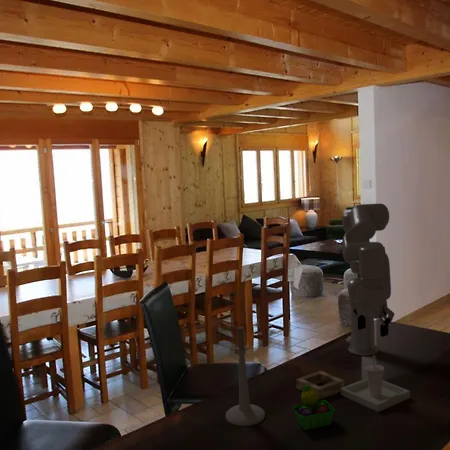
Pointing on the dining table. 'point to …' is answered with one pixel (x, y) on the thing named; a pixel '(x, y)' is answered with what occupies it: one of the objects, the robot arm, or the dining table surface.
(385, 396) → the tray
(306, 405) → the fruit basket
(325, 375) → the holder
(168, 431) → the dining table surface
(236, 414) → the candlestick
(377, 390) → the smoothie
